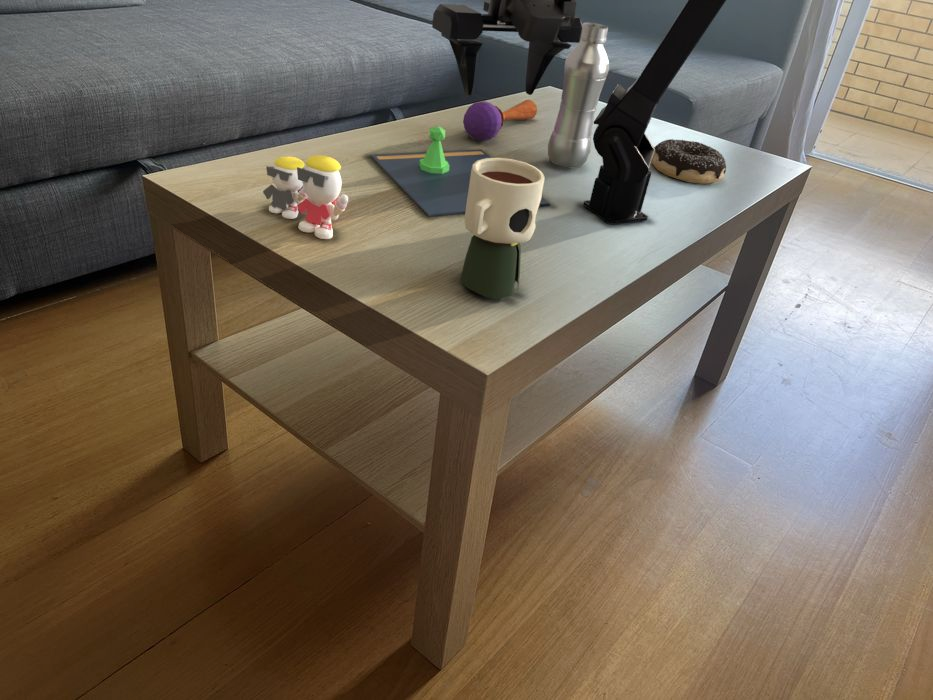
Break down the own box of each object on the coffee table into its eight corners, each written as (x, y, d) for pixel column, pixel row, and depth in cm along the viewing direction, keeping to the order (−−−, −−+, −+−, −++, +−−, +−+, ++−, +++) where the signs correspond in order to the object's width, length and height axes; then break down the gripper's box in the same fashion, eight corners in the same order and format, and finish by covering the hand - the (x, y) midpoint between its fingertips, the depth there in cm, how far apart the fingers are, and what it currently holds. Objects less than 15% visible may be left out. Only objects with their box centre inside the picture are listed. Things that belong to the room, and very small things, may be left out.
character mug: (492, 321, 71) (515, 198, 64) (432, 295, 74) (447, 174, 66) (540, 280, 79) (565, 167, 72) (484, 258, 82) (503, 147, 75)
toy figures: (258, 207, 85) (256, 137, 80) (288, 198, 88) (288, 131, 83) (326, 246, 79) (327, 173, 75) (355, 235, 82) (359, 165, 78)
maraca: (549, 101, 125) (495, 114, 109) (536, 133, 128) (482, 150, 112) (520, 85, 126) (463, 96, 110) (508, 117, 130) (451, 132, 114)
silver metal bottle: (539, 165, 109) (566, 24, 98) (551, 153, 115) (579, 17, 103) (580, 176, 108) (612, 34, 96) (590, 163, 113) (623, 27, 102)
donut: (681, 156, 122) (688, 132, 120) (736, 183, 114) (745, 158, 112) (635, 162, 116) (642, 138, 114) (691, 191, 109) (699, 165, 106)
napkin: (480, 151, 111) (481, 149, 111) (549, 205, 97) (550, 202, 97) (370, 156, 103) (370, 154, 103) (428, 216, 89) (428, 213, 89)
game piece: (445, 176, 100) (450, 133, 97) (415, 170, 100) (419, 127, 97) (451, 165, 104) (456, 124, 100) (422, 160, 104) (426, 118, 101)
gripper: (482, -32, 76) (463, 116, 85) (622, -21, 84) (591, 113, 93) (437, -50, 84) (424, 87, 93) (569, -39, 92) (546, 87, 101)
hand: (498, 94), depth 94 cm, fingers open, 9 cm apart
